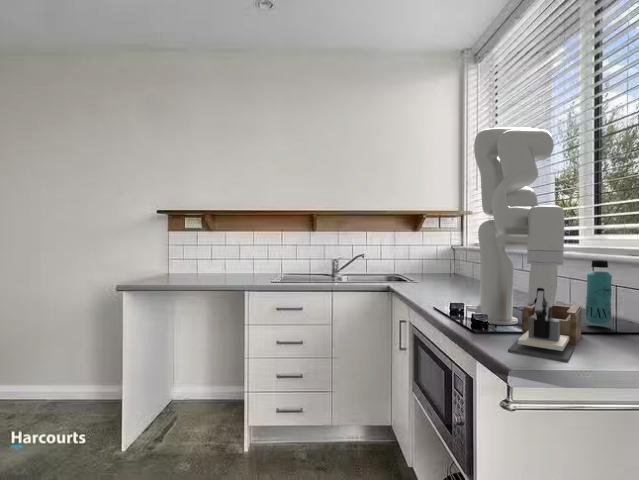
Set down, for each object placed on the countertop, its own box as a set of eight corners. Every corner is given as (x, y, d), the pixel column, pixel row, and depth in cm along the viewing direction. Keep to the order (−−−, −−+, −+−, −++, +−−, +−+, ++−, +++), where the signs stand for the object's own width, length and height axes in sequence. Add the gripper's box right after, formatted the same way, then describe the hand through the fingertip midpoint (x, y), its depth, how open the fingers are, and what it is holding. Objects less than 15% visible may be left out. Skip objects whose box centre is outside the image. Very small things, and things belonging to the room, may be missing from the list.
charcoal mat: (507, 352, 96) (507, 349, 96) (520, 339, 108) (520, 337, 108) (567, 362, 89) (567, 359, 89) (574, 348, 100) (574, 345, 100)
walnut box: (522, 338, 109) (522, 307, 109) (532, 328, 120) (532, 300, 120) (575, 346, 102) (576, 313, 102) (580, 335, 113) (581, 305, 113)
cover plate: (517, 343, 96) (518, 320, 96) (527, 334, 106) (528, 312, 106) (562, 351, 91) (563, 325, 91) (568, 340, 101) (569, 317, 100)
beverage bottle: (580, 326, 125) (582, 259, 125) (590, 323, 129) (592, 259, 128) (605, 330, 120) (607, 261, 119) (614, 327, 124) (616, 260, 123)
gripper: (533, 256, 107) (532, 327, 108) (520, 258, 94) (518, 339, 94) (567, 257, 103) (565, 331, 103) (558, 260, 89) (556, 345, 90)
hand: (543, 334), depth 99 cm, fingers closed on cover plate, 4 cm apart
